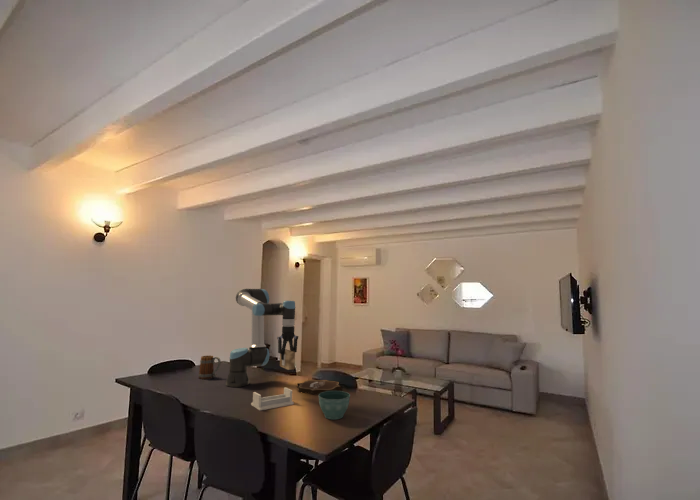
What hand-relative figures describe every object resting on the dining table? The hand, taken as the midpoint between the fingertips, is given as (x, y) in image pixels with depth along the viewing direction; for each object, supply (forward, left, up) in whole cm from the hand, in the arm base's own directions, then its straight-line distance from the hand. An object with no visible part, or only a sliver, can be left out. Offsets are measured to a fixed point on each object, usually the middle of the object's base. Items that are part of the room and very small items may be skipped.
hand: (287, 364), depth 227 cm
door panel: (0, 0, -2) cm, 2 cm away
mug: (-74, -24, -19) cm, 80 cm away
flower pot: (+47, +3, -19) cm, 51 cm away
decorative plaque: (-4, +26, -19) cm, 33 cm away
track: (+11, -14, -19) cm, 26 cm away
